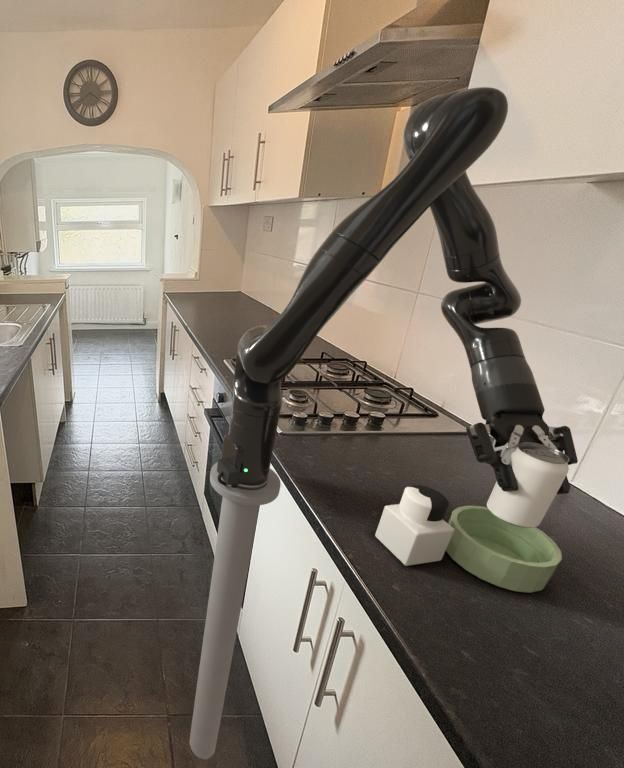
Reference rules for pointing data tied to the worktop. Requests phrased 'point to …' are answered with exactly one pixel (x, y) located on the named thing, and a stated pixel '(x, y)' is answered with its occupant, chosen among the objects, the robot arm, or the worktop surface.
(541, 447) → the can
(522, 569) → the shallow round dish
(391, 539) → the medicine bottle
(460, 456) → the worktop surface
